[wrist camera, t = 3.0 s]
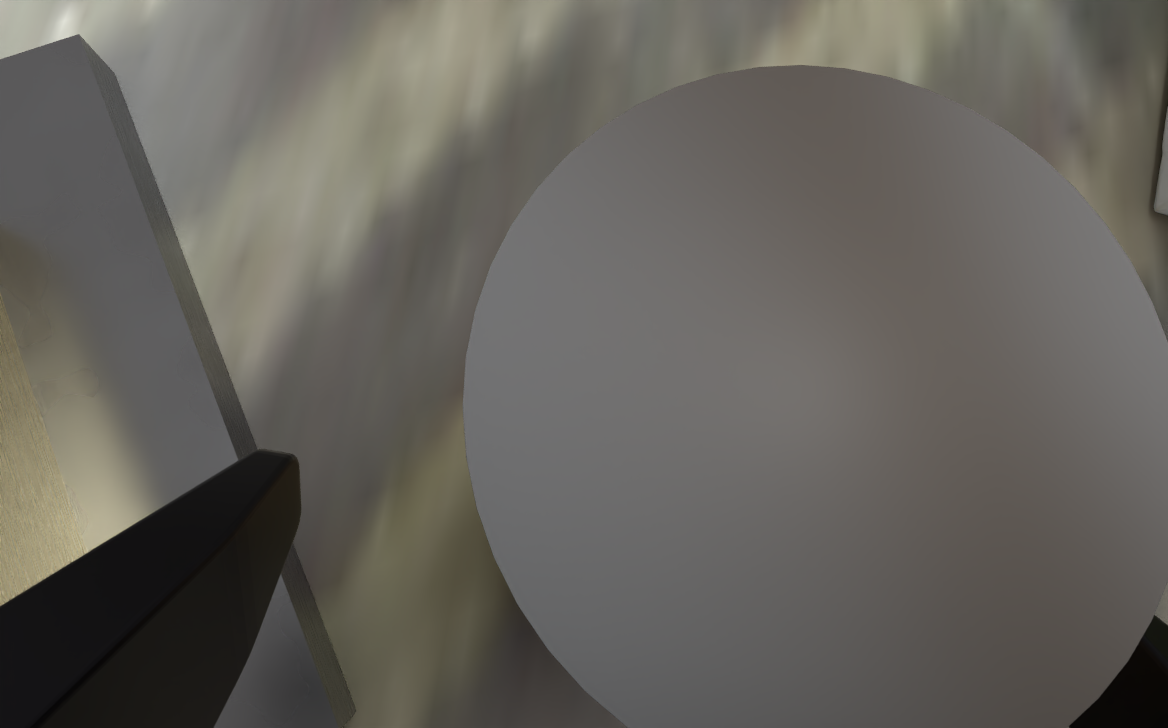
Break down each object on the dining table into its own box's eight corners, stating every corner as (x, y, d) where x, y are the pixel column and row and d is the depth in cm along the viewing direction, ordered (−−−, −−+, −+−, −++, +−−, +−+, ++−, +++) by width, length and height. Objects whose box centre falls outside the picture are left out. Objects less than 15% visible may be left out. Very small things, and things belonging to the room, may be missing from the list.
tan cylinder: (561, 637, 17) (665, 965, 4) (471, 429, 17) (348, 211, 5) (760, 539, 17) (1326, 586, 5) (666, 344, 18) (961, -21, 6)
